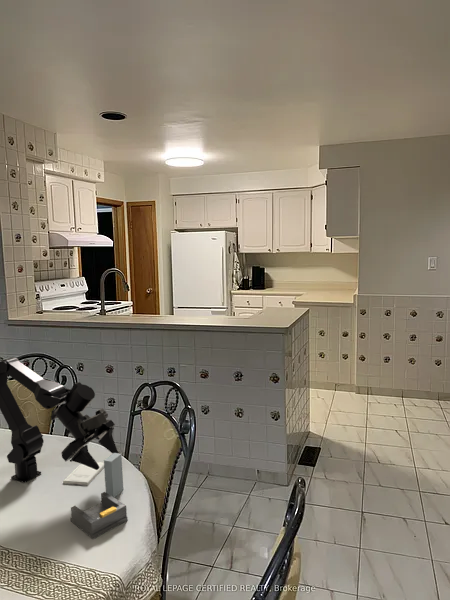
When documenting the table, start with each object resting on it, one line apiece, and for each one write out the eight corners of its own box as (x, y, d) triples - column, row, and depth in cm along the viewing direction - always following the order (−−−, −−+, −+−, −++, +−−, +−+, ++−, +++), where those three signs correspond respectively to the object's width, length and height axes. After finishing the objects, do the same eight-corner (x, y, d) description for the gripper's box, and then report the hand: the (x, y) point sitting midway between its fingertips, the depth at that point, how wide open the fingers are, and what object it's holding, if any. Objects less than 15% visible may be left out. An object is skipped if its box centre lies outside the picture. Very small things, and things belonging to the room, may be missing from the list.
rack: (70, 521, 116) (69, 504, 115) (104, 504, 123) (103, 488, 122) (93, 539, 108) (91, 521, 107) (127, 520, 115) (126, 503, 115)
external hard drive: (106, 467, 146) (88, 486, 134) (83, 465, 147) (63, 485, 135) (105, 462, 146) (87, 481, 133) (82, 461, 147) (62, 480, 135)
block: (106, 497, 127) (103, 460, 125) (116, 488, 131) (114, 452, 130) (113, 498, 126) (111, 461, 124) (123, 489, 130) (121, 453, 129)
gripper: (66, 415, 119) (104, 459, 117) (107, 393, 137) (140, 431, 134) (45, 440, 123) (81, 483, 120) (88, 416, 140) (120, 453, 138)
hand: (108, 461), depth 128 cm, fingers open, 9 cm apart
